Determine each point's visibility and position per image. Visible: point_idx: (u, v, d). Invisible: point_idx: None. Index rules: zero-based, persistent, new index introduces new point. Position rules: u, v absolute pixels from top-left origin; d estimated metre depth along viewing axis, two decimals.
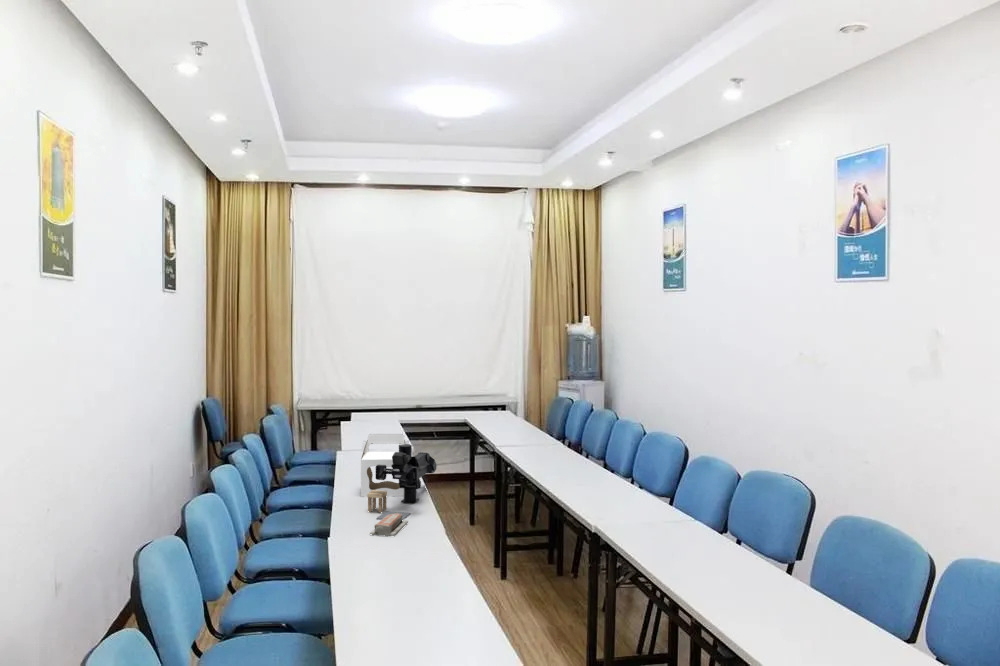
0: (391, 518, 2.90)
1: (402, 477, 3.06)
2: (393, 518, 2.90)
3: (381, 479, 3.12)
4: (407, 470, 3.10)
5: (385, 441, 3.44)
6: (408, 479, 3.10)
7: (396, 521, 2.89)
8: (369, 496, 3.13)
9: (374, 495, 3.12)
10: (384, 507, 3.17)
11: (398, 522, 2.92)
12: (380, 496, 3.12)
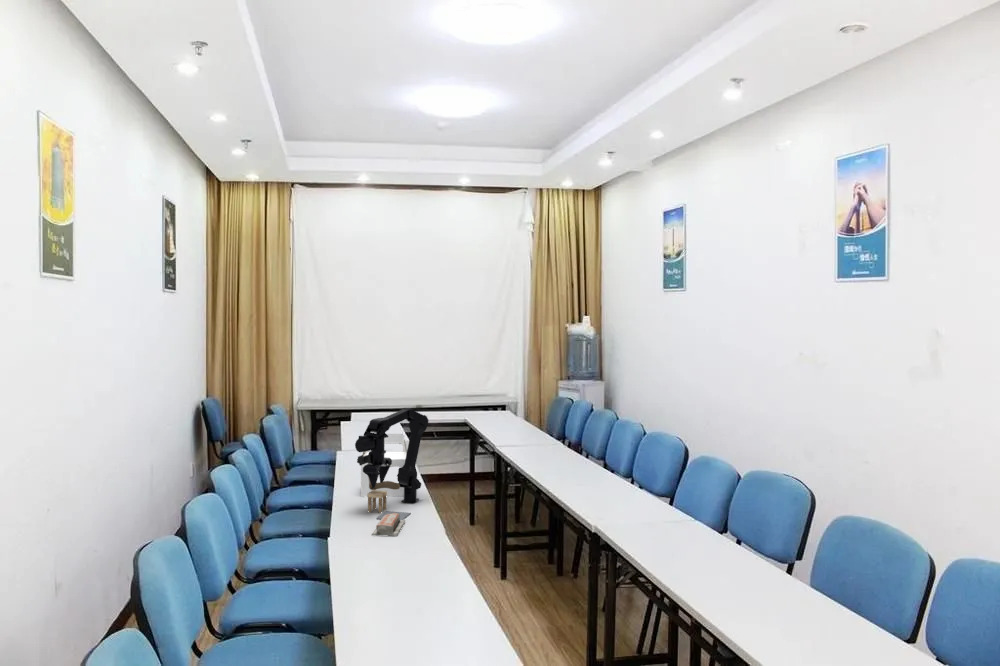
0: (390, 518, 2.91)
1: (372, 484, 3.10)
2: (393, 518, 2.90)
3: (386, 472, 3.20)
4: None
5: (385, 441, 3.44)
6: (375, 476, 3.09)
7: (396, 521, 2.90)
8: (369, 496, 3.13)
9: (374, 495, 3.12)
10: (384, 507, 3.17)
11: (397, 522, 2.92)
12: (380, 496, 3.12)
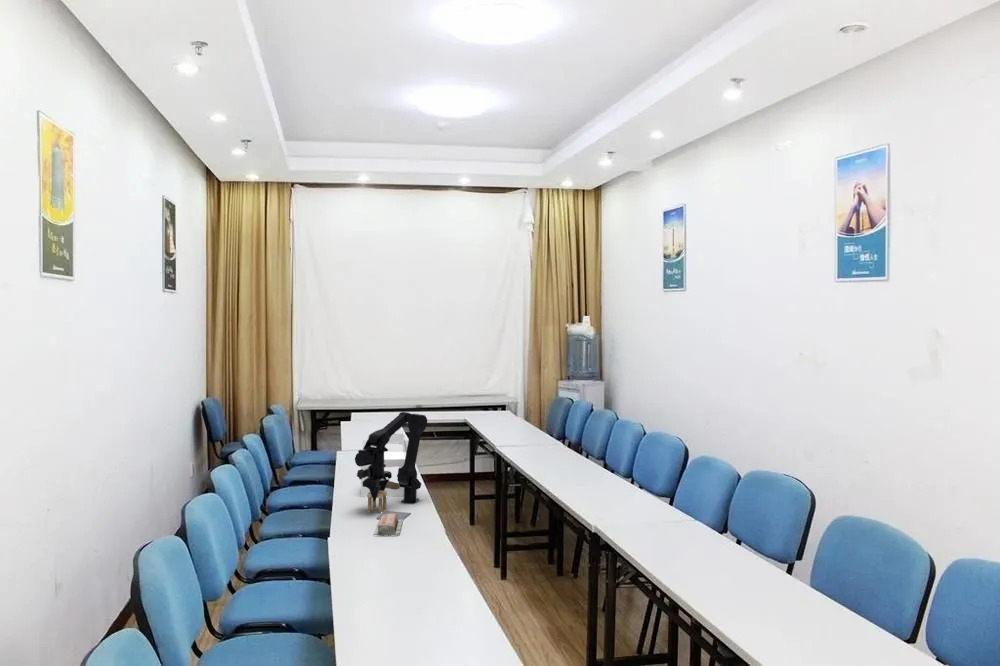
0: (390, 518, 2.91)
1: (373, 497, 3.12)
2: (392, 518, 2.91)
3: (385, 486, 3.19)
4: None
5: None
6: (376, 489, 3.10)
7: (396, 520, 2.90)
8: (369, 496, 3.13)
9: None
10: (384, 507, 3.17)
11: None
12: (380, 496, 3.12)
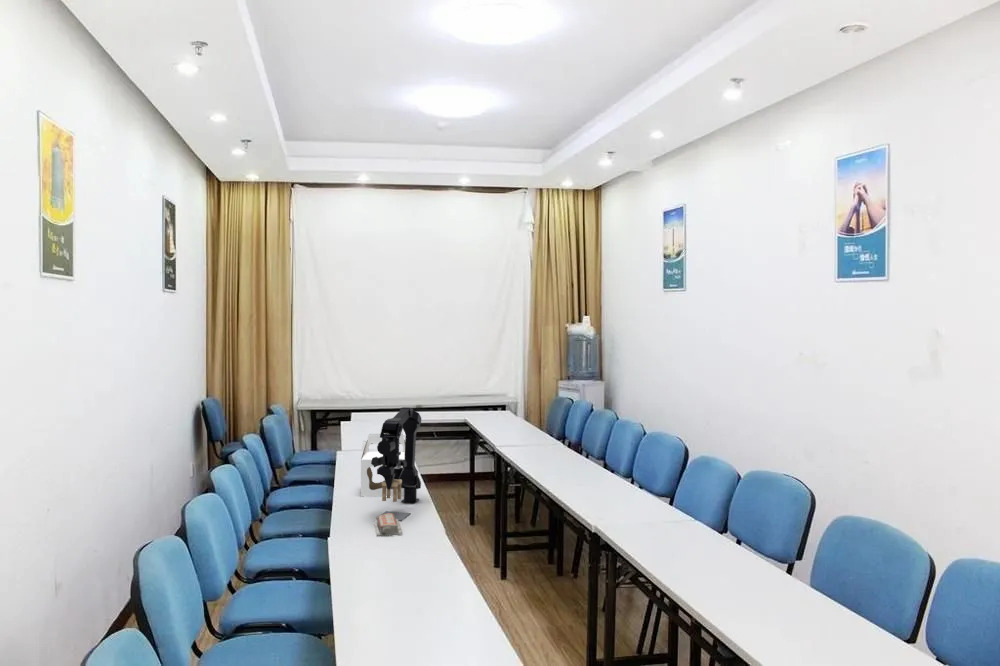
0: (389, 518, 2.91)
1: (387, 486, 3.03)
2: (391, 517, 2.91)
3: (400, 475, 3.11)
4: None
5: None
6: (391, 477, 3.02)
7: (395, 520, 2.90)
8: (383, 484, 3.05)
9: None
10: (399, 496, 3.09)
11: None
12: (395, 484, 3.03)
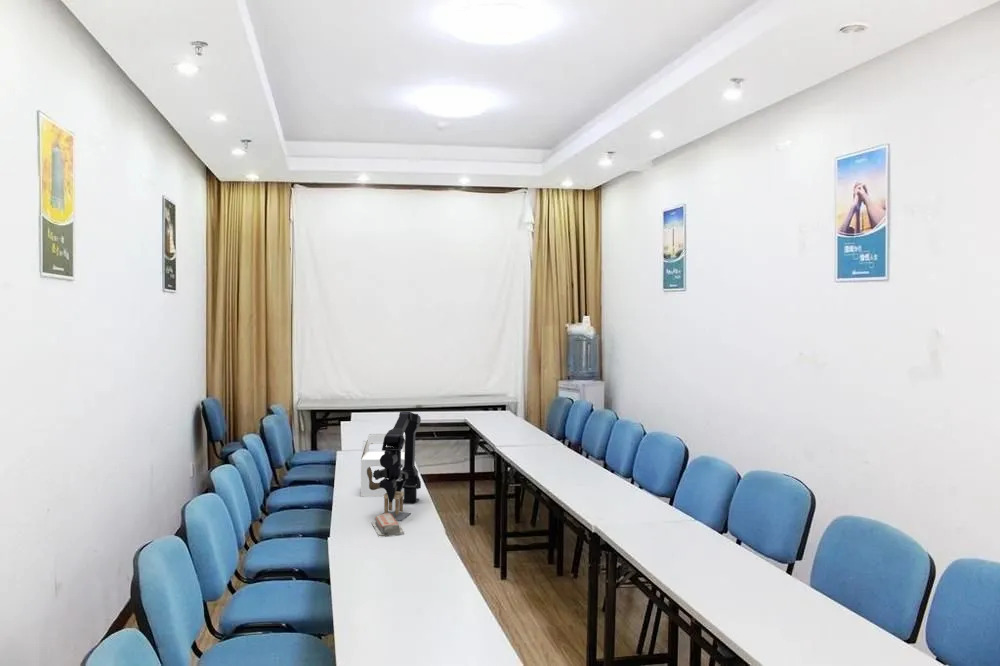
0: (388, 518, 2.91)
1: (390, 498, 3.03)
2: (391, 517, 2.91)
3: (402, 487, 3.10)
4: None
5: None
6: (393, 490, 3.01)
7: None
8: (385, 497, 3.04)
9: None
10: (401, 508, 3.08)
11: None
12: (397, 497, 3.03)
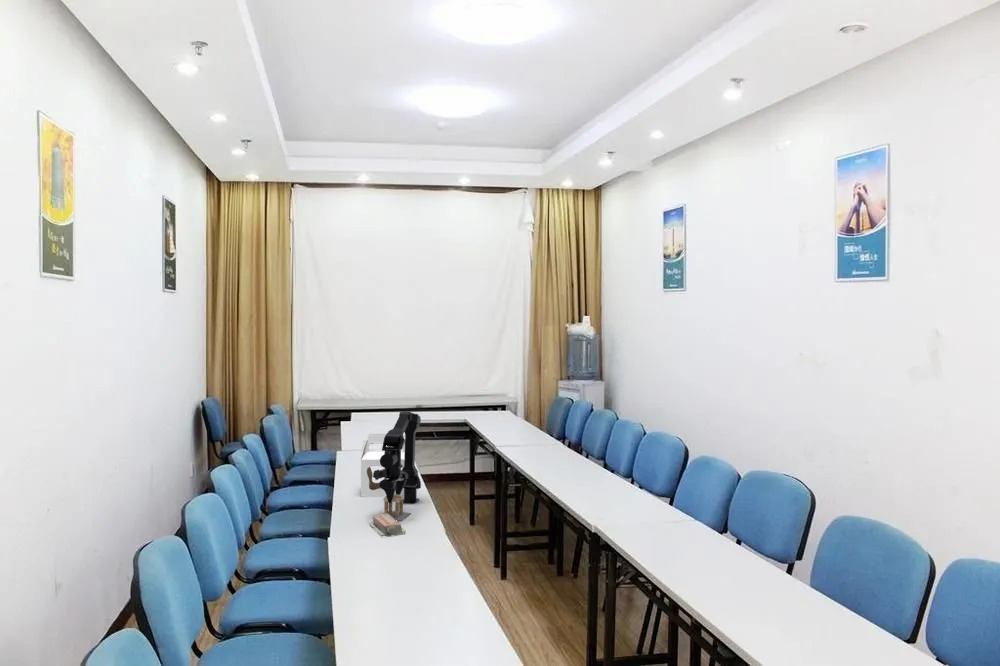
0: (387, 518, 2.91)
1: (388, 499, 3.02)
2: (390, 517, 2.91)
3: (403, 486, 3.12)
4: None
5: None
6: (392, 491, 3.00)
7: None
8: (385, 500, 3.04)
9: None
10: (401, 512, 3.08)
11: None
12: (397, 500, 3.03)
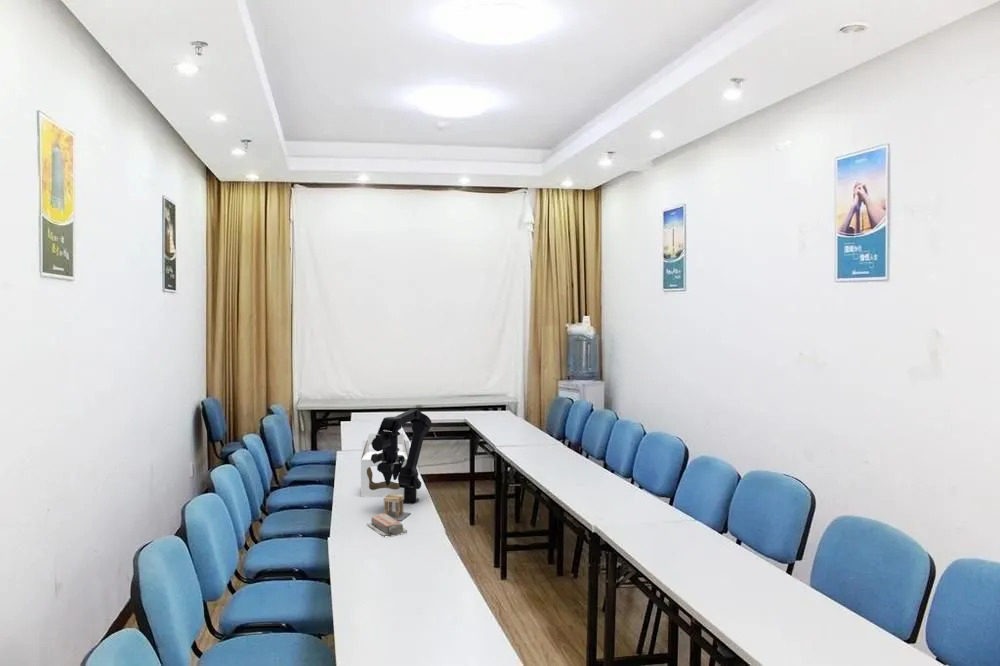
0: (387, 518, 2.91)
1: (386, 482, 3.12)
2: (389, 517, 2.91)
3: (400, 469, 3.22)
4: None
5: None
6: (389, 474, 3.11)
7: None
8: (385, 500, 3.04)
9: (391, 499, 3.04)
10: (401, 512, 3.08)
11: None
12: (397, 500, 3.03)
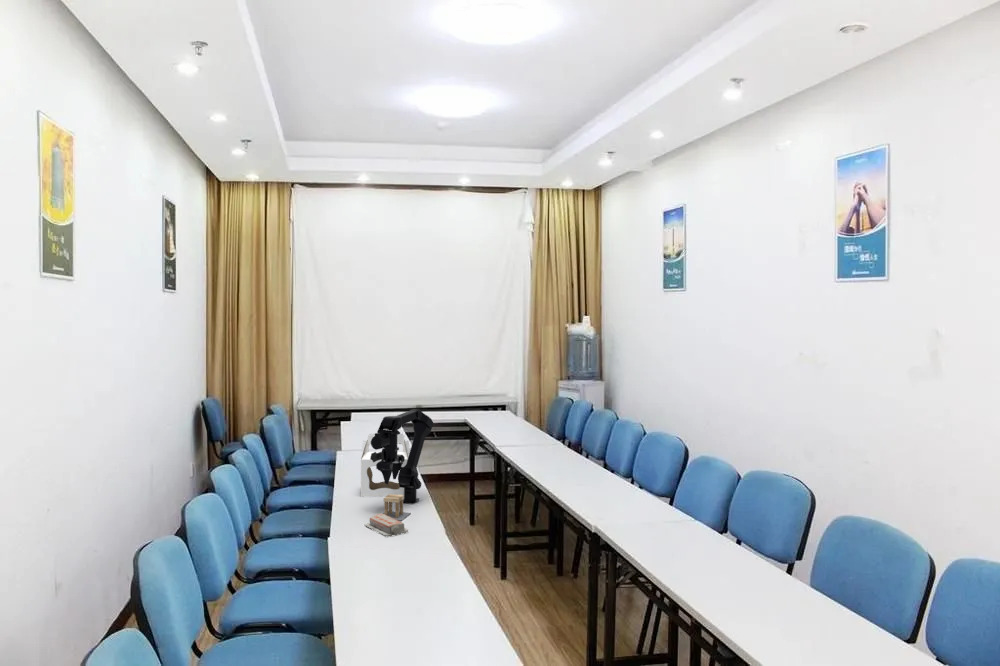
0: (386, 518, 2.91)
1: (385, 480, 3.13)
2: (389, 517, 2.91)
3: (399, 469, 3.23)
4: None
5: None
6: (388, 472, 3.11)
7: None
8: (385, 500, 3.04)
9: (391, 499, 3.04)
10: (401, 512, 3.08)
11: None
12: (397, 500, 3.03)
